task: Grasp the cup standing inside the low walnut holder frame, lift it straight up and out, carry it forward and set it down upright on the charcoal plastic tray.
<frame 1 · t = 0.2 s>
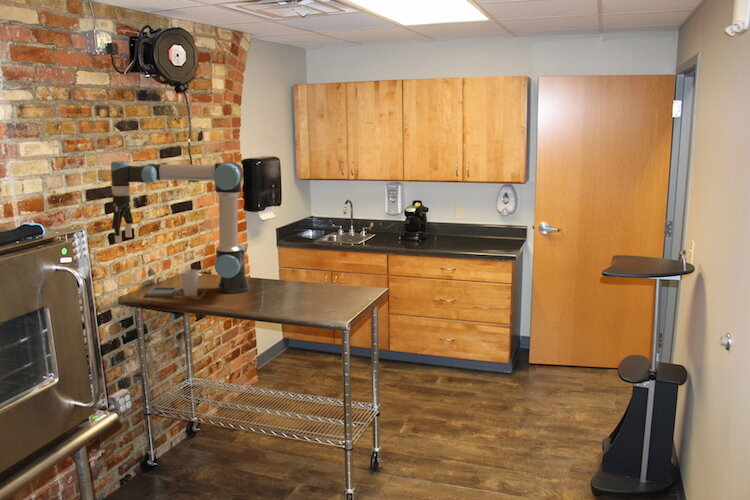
hand: (123, 239, 288), 28 cm above the table, fingers open, 13 cm apart
tray: (162, 293, 300), on the table
cup: (190, 295, 298), resting in holder frame
holder frame: (190, 295, 298), on the table
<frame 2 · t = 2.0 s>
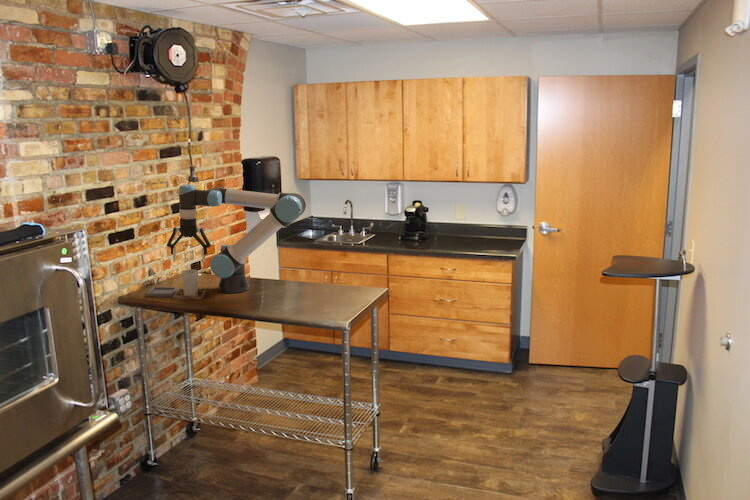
hand: (189, 261, 295), 17 cm above the table, fingers open, 13 cm apart
nothing on the table moved.
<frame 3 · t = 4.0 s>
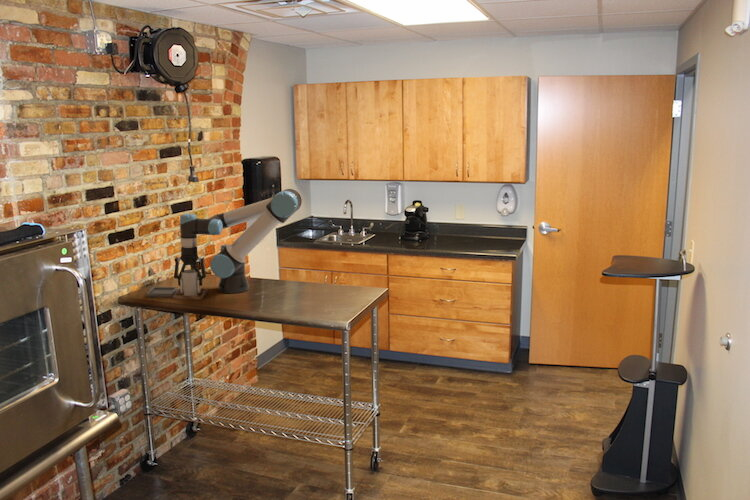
hand: (190, 292, 298), 2 cm above the table, fingers closed on cup, 7 cm apart
cup: (190, 295, 298), resting in holder frame, touching gripper
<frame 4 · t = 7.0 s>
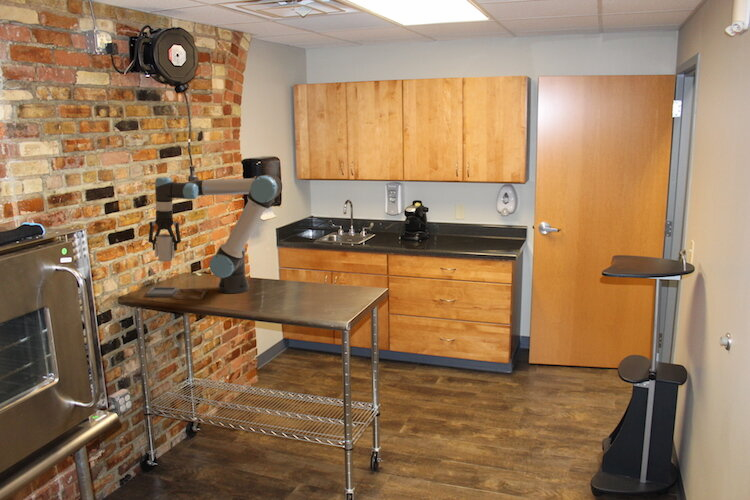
hand: (165, 256, 296), 19 cm above the table, fingers closed on cup, 7 cm apart
cup: (165, 260, 296), point 17 cm above the table, touching gripper
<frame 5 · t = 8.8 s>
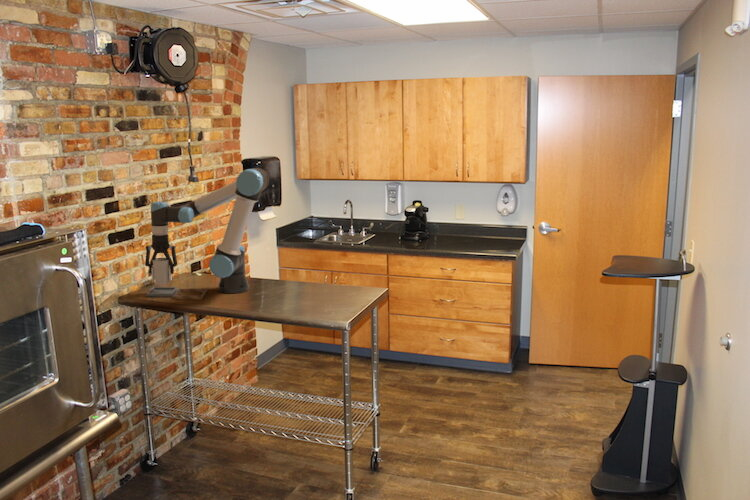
hand: (162, 280, 298), 7 cm above the table, fingers closed on cup, 7 cm apart
cup: (162, 283, 299), point 5 cm above the table, touching gripper
when the fingers open (3 cm above the table, at t = 10.1 s): cup stays where it is, resting on tray.
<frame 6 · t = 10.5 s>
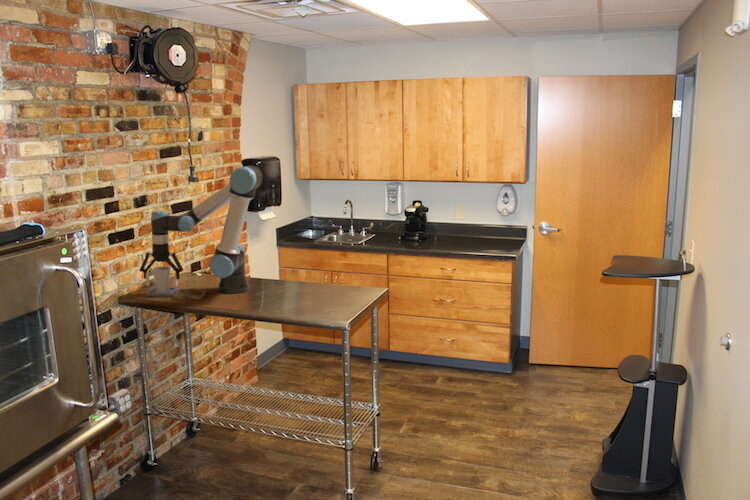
hand: (162, 285, 299), 4 cm above the table, fingers open, 13 cm apart
cup: (162, 292, 300), point 1 cm above the table, touching tray
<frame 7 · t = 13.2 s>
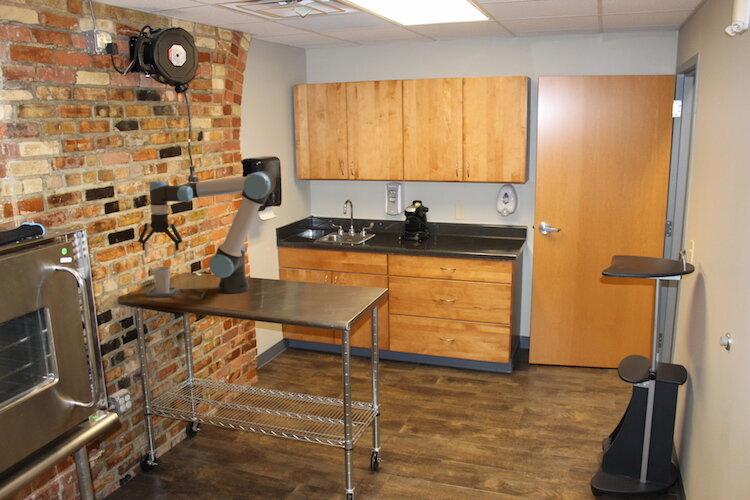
hand: (161, 256, 296), 18 cm above the table, fingers open, 13 cm apart
nothing on the table moved.
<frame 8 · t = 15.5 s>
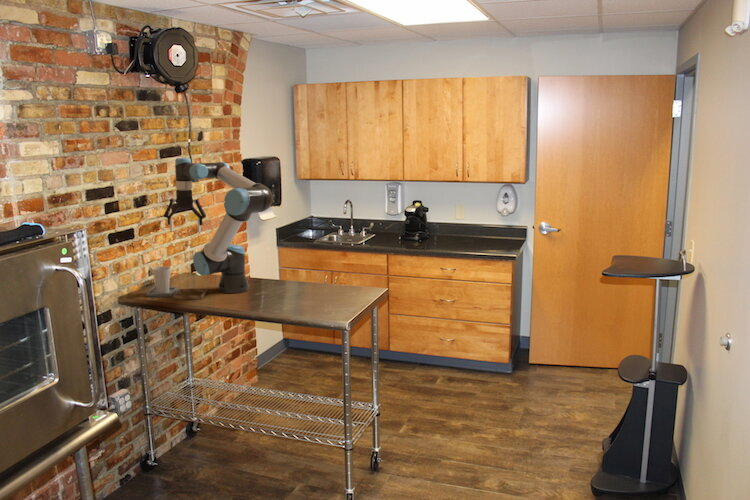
hand: (185, 231, 308), 29 cm above the table, fingers open, 13 cm apart
nothing on the table moved.
at the end: cup inside the target area on the tray (0.1 cm from its centre), point 0.6 cm above the tray's base; cup tilted 0°; the gripper is holding nothing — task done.
